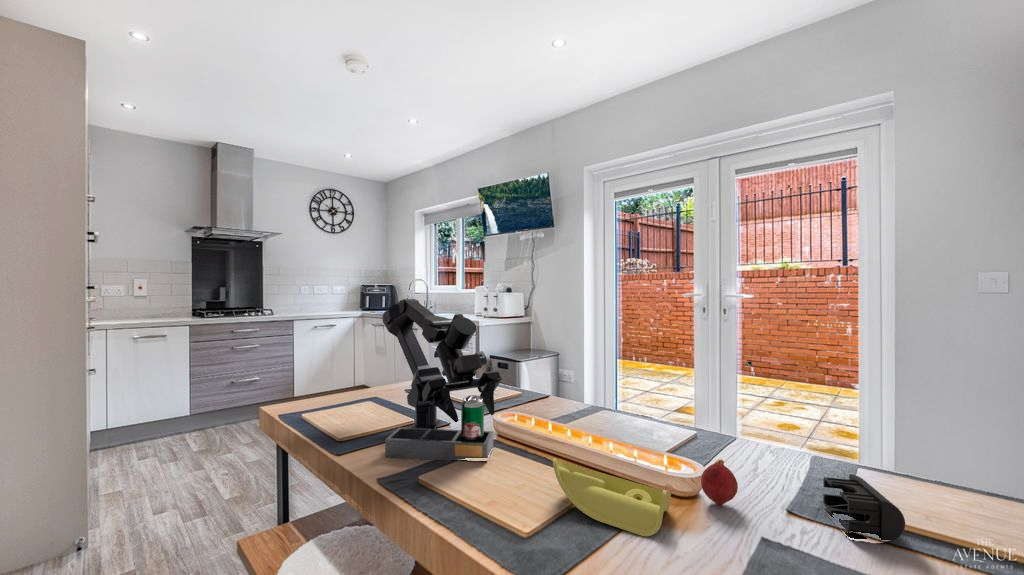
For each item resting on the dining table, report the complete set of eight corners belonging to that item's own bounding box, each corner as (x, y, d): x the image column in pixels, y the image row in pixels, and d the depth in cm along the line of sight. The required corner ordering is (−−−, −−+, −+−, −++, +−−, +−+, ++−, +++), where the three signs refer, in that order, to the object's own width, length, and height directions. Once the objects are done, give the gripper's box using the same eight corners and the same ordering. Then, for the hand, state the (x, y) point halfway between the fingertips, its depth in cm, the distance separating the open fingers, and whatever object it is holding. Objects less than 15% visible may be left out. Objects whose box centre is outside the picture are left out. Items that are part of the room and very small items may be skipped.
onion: (721, 516, 75) (722, 468, 75) (693, 501, 80) (693, 456, 80) (744, 508, 78) (744, 462, 77) (715, 494, 83) (716, 451, 82)
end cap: (905, 549, 66) (906, 503, 66) (850, 542, 68) (850, 498, 67) (869, 515, 75) (870, 475, 75) (821, 510, 77) (822, 471, 77)
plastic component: (672, 493, 78) (665, 489, 70) (666, 539, 76) (658, 541, 68) (566, 462, 88) (549, 456, 80) (557, 503, 85) (539, 500, 77)
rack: (398, 444, 108) (398, 427, 108) (493, 448, 105) (493, 431, 105) (384, 457, 99) (384, 439, 99) (487, 462, 97) (487, 444, 97)
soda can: (459, 453, 99) (459, 402, 97) (463, 442, 104) (463, 393, 102) (481, 455, 99) (482, 404, 97) (485, 444, 104) (485, 395, 102)
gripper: (426, 343, 99) (449, 404, 90) (498, 337, 110) (524, 391, 101) (413, 373, 106) (432, 432, 97) (481, 365, 116) (505, 418, 107)
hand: (475, 417), depth 100 cm, fingers open, 9 cm apart
